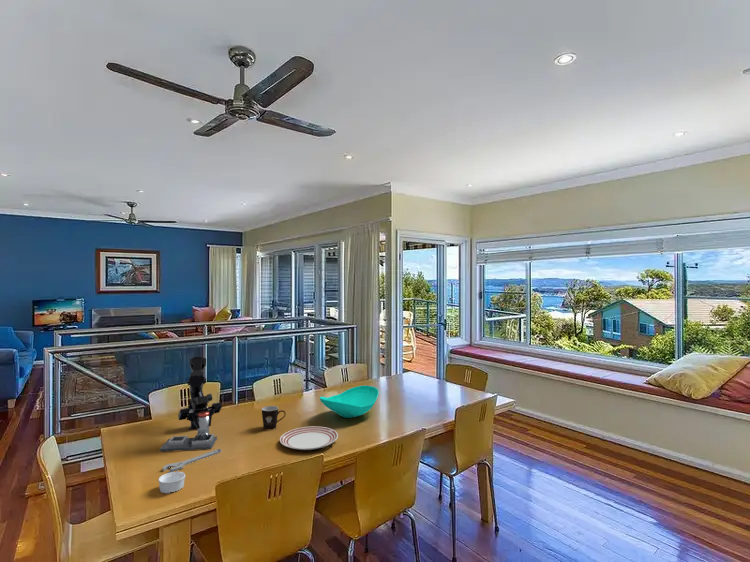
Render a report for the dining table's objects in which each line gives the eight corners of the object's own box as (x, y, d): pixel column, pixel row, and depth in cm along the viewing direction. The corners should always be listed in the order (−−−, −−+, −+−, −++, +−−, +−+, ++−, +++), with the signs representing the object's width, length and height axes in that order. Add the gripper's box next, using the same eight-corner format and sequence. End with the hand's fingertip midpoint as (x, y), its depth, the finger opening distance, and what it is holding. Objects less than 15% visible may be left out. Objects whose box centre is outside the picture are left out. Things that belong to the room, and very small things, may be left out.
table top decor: (342, 431, 210) (343, 405, 211) (307, 419, 228) (307, 395, 228) (390, 412, 241) (390, 390, 241) (355, 403, 259) (355, 382, 259)
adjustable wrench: (219, 451, 185) (219, 447, 185) (226, 456, 181) (226, 452, 181) (161, 470, 166) (161, 465, 166) (168, 475, 162) (168, 470, 162)
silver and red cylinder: (198, 438, 194) (199, 411, 194) (210, 438, 195) (210, 410, 194) (196, 442, 189) (196, 414, 189) (207, 442, 190) (207, 414, 190)
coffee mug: (257, 429, 212) (258, 409, 212) (267, 423, 220) (267, 405, 220) (277, 432, 208) (277, 412, 208) (286, 426, 216) (286, 407, 216)
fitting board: (168, 441, 195) (168, 434, 195) (217, 439, 198) (217, 432, 198) (159, 451, 183) (159, 444, 183) (211, 448, 186) (211, 441, 186)
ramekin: (167, 482, 156) (167, 470, 156) (189, 483, 155) (190, 471, 155) (152, 494, 147) (153, 481, 147) (176, 495, 146) (176, 483, 146)
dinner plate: (286, 458, 177) (286, 451, 177) (274, 436, 202) (275, 430, 202) (345, 449, 188) (346, 442, 188) (328, 429, 213) (328, 423, 213)
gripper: (180, 392, 189) (186, 422, 180) (221, 385, 200) (228, 414, 192) (175, 404, 195) (181, 435, 186) (215, 398, 207) (222, 426, 198)
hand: (204, 427), depth 191 cm, fingers closed on silver and red cylinder, 5 cm apart
